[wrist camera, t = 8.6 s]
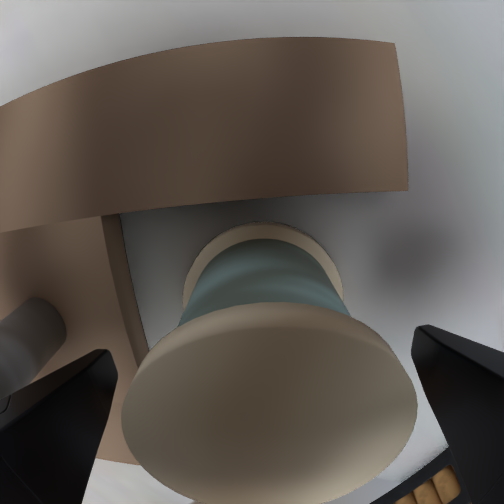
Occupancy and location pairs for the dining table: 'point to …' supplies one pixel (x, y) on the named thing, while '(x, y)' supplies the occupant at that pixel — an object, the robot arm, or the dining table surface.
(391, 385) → the thread spool
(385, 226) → the dining table surface
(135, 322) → the walnut notched board
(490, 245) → the dining table surface
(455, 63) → the dining table surface
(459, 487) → the ammunition clip
